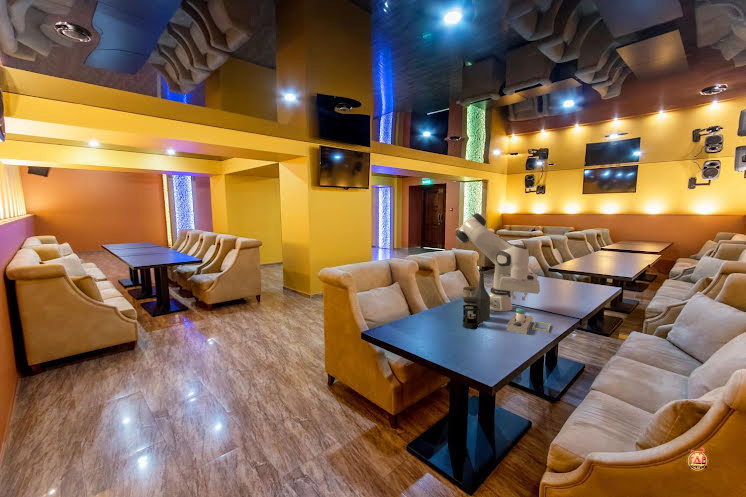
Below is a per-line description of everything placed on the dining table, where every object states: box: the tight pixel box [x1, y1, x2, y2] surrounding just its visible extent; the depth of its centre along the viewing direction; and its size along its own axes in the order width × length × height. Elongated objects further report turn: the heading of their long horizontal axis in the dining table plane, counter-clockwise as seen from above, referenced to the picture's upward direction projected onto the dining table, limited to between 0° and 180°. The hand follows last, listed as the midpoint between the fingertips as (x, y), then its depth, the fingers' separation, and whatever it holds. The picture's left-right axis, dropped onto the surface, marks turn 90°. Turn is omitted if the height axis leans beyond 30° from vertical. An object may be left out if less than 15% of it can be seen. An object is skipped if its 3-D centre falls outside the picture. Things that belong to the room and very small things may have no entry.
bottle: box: [471, 272, 491, 324], centre depth 198 cm, size 10×10×30 cm
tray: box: [531, 321, 552, 333], centre depth 182 cm, size 8×12×3 cm, turn 146°
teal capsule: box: [515, 307, 526, 323], centre depth 184 cm, size 5×5×10 cm
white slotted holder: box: [506, 313, 534, 335], centre depth 184 cm, size 22×10×5 cm, turn 146°
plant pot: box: [461, 285, 487, 314], centre depth 216 cm, size 15×15×16 cm
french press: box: [462, 288, 482, 330], centre depth 189 cm, size 12×9×23 cm
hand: (518, 299), depth 176 cm, fingers open, 3 cm apart
